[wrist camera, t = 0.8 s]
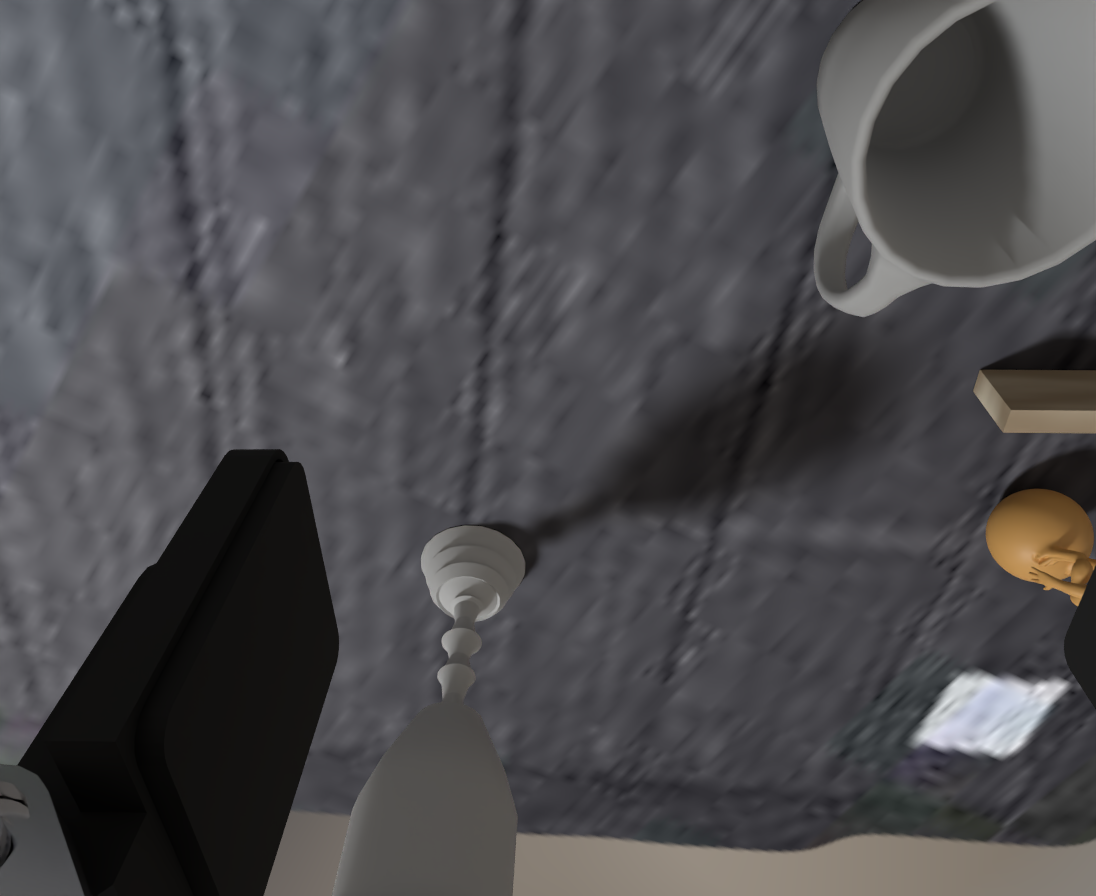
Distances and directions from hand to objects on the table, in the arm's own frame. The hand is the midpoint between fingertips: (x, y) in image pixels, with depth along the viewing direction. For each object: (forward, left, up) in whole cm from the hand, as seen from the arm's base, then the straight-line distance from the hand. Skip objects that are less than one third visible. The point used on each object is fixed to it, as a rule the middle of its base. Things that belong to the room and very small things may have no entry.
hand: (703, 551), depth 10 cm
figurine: (+17, +19, -23) cm, 34 cm away
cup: (+1, +9, -23) cm, 25 cm away
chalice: (+22, -6, -23) cm, 32 cm away
